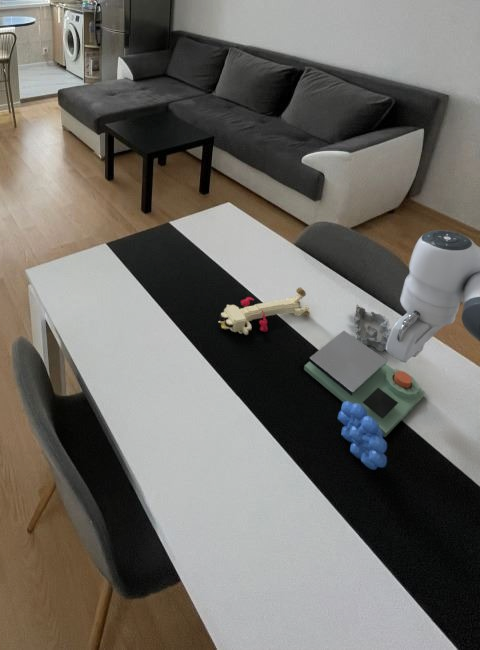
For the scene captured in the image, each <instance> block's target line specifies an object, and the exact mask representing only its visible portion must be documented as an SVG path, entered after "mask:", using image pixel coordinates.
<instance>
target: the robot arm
mask: <svg viewBox="0 0 480 650" xmlns="http://www.w3.org/2000/svg"><path fill="white" fill-rule="evenodd" d="M408 269H409V273H408V274H407V276H406V277H405V279H404V283H403V287H402V290H401V294H400V298H399V301H400V304H401V306H402V308H403V309H404V310H405V312H406V313H404V315H403V316H401V317H400V318H399V319H398V320H396V322H395V323H394V324H393V326H392V328H391V329H390V336H389V338H388V341H387V344H386V350H385V352H387V353H388V354H389V355H390V356H392V357H393V358H395V359H396V360H398V361H400V362H402V363H404V364H405V363H407V362H408V361H409V360H410V359H411V358H412V357H413V358H416V357H417V356H418V355H419V354H420V353H421V352H422V351H423V350H424V347H425V345H426V344H427V343H428V342H429V341H430V340H431V339H432V338H433V337H434V336H435V335H436V334H437V333H438V332H439V331H440V330H441V329H442V328H444V326H445V327H446V326H450V325H452V324H453V323H454V322H455V320H456V317H457V314H458V312H459V310H460V307H461V305H462V304H463V306H462V312H461V322H462V325H463V327H464V328H465V330H466V331H467V332H468V333H469V335H471V336H472V337H473V338H474V339H476V340H477V341H478V342H480V246H478V245H477V244H476V243H475V242H474V241H473V240H472V239H471V238H470V237H468V236H467V235H465V234H462V233H460V232H457V231H453V230H448V229H434V230H433V229H432V230H429V231H427V232H425V233H423V234H422V235H421V236H420V237H419V238H418V240H417V242H416V243H415V246H414V248H413V250H412V253H411V256H410V260H409V263H408Z"/></svg>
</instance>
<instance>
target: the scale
mask: <svg viewBox="0 0 480 650" xmlns="http://www.w3.org/2000/svg"><path fill="white" fill-rule="evenodd" d="M303 370H304V371H305V372H306V373H307V374H309V376H311V377H312V378H313V379H314V380H316V381H317V382H318V383H319V384H320V385H322V386H323V387H324V388H325V389H326V390H328V391H329V392H330V393H331V394H332V395H333V396H335V397H336V398H337V399H339V400H340V401H341V402H342V403H343V402H344V401H349V402H351V403H352V404H353V403H358V404H360V405H362V406H363V407H364V408H365V409H366V410H367V416H369V417H372V418H373V419H374V420H375V421H376V422H377V423H378V424H379V428H380V429H381V430H382V431H383V438H387V436H388V435H389V434H390V433H391V432H392V431H393V430H394V429H395V428H396V427H397V425H398V424H399V423H400V422H401V421H402V420H403V419H404V418H405V417H407V415H408V414H409V413H410V411H412V409H414V408H415V406H416V405H417V404H418V403H419V402H420V401H421V400H422V399H423V398H424V397H425V395H426V391H425V390H423V389H422V388H420V387H419V383H418V382H417V380H416V379H415V378H414V377H413V376H412V375H411V374H409V373H407V372H405V371H404V370H400V369H398V368H392V367H390V366H389V365H388V364H386V365H385V366H384V367H383V368H382V369H380V370H379V371H378V372H377V373H376V374H375V375H374V376H373V377H372V378H371V379H370V380H369V381H367V382H366V383H365V384H364V385H363V386H362V387H361V388H360V389H359V390H358V391H357V392H355V393H354V394H353V395H352V396H351V395H350V394H349V393H348V392H346V391H345V390H344V389H343V388H341V387H340V386H339V385H338V384H336V383H335V382H334V381H333V380H331V379H330V378H329V377H328V376H327V375H325V374H324V373H323V372H322V371H320V370H319V369H318V368H317V367H315V366H314V365H313V364H312V363H311V362H309V361H308V362H307V363H306V364H304V367H303ZM397 371H403V372H405V373H407V374H408V375H409V376H410V377H411V379H412V383H411V386H410V388H408V389H404V388H401V387H400V386H398V385H397V384H396V383H395V381H394V376H395V373H396V372H397ZM377 388H380V389H381V390H382V391H383V392H385V393H386V394H387V395H389V396H390V397H391V398H393V399H394V400H395V401H397V402H398V404H397V405H396V406H395V407H394V408H393V409H392V410H391V411H390V412H389V413H388V414H387V415H386V416H385V417H384V418H383V419H382V418H381V417H380V416H379V415H377V414H376V413H375V412H374V411H372V410H371V409H370V408H369V407H368V406H366V405H365V404H364V403H363V401H364V400H365V399H367V398H368V397H369V396H370V395H371V394H372V393H373V392H374V391H375V390H376V389H377Z"/></svg>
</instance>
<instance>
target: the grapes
mask: <svg viewBox="0 0 480 650" xmlns="http://www.w3.org/2000/svg"><path fill="white" fill-rule="evenodd" d="M337 420H338V421H339V422H340V423H341V424H342V425H343V426H342V428H341V434H340V435H341V436H342V438H344V439H345V440H346V441H347V442H349V443H350V447H349V451H350V453H351V454H352V455H353V456H354V457H356V458H357V459H359V460H360V461H361V463H362V464H363V465H364V466H365V467H366V468H368V469H370V470H371V471H373V470H374V471H375V470H377V469H378V468H385V467H386V466H387V463H388V457H387V455H386V454H385V453H386V452H387V449H388V443H387V441H386V440H385V439H384V436H383V431H382V430H381V429H380V428H379V424H378V423H377V422H376V421H375V420H374V419H373V418H372V417H369V416H367V410H366V409H365V408H364V407H363V406H362V405H360V404H358V403H353V404H352V403H351V402H349V401H344V402H342V403H341V409H340V411H339V412H338V415H337Z"/></svg>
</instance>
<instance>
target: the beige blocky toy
mask: <svg viewBox="0 0 480 650" xmlns="http://www.w3.org/2000/svg"><path fill="white" fill-rule="evenodd" d="M296 293H297V295H294V296H292V297H285V299H280V300H279V299H277V300H271V301H266V302H262V303H261V302H260V303H256V304H254V305H250V303H251V302H250V301H254V300H255V299H254V298H252V297H251V296H247V297H245V299H241V300H240V305H241V306H243V307H242V308H240V307H239V306H237V305H235V304H226V307H225V308H224V309H223V311H222V312H220V314H219V318H220V319H221V320H223V321H221V320H219V321H217V322H218V324H220V327H221V329H222V330H223V329H224V330H230V331H231V332H234V333H237V332H238V333H239V334H240V335H242V334H244V335H245V336H247V335H249V331H252V324H251V323H250V322H251V321H253V320H257V319H260V320H259V321H258V323H259V325H260V327H259V330H260V331H261V332H264V333H265V332H268V329H269V328H268V319H266V318H267V317H269V316H275V315H285V314H293V315H294V316H295V317H299V316H303V317H309V316H310V311H309V310H310V307H309V306H308V305H303V306H301V302H300V301H301V300H303V299H304V298H305V297H306V295H307V293H306V291H305V289H303V288H302V287H298V288H296ZM300 306H301V307H300ZM262 319H263V320H262Z"/></svg>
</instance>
